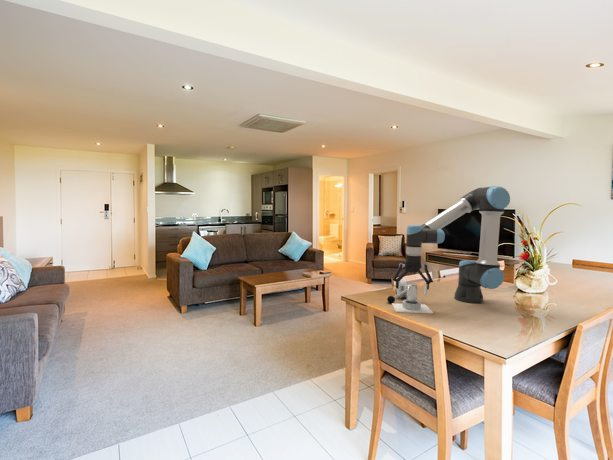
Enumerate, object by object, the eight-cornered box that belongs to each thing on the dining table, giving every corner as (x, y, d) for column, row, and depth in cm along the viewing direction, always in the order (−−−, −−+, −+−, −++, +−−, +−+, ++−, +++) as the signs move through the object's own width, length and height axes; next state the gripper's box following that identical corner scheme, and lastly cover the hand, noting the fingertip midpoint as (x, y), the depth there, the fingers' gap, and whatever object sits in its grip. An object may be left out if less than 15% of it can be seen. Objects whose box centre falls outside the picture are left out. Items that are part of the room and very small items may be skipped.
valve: (408, 295, 195) (420, 294, 181) (384, 310, 191) (394, 309, 177) (399, 280, 197) (410, 277, 183) (375, 294, 193) (384, 292, 179)
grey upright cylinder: (417, 308, 168) (418, 286, 167) (407, 308, 168) (408, 285, 168) (414, 305, 174) (415, 283, 173) (405, 305, 174) (405, 283, 174)
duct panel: (425, 305, 177) (425, 298, 177) (432, 313, 163) (433, 306, 163) (391, 304, 178) (391, 297, 178) (396, 312, 164) (396, 305, 164)
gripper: (435, 254, 171) (434, 294, 173) (387, 253, 173) (386, 292, 175) (440, 256, 164) (438, 298, 165) (390, 255, 166) (388, 296, 167)
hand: (411, 295), depth 170 cm, fingers open, 13 cm apart
